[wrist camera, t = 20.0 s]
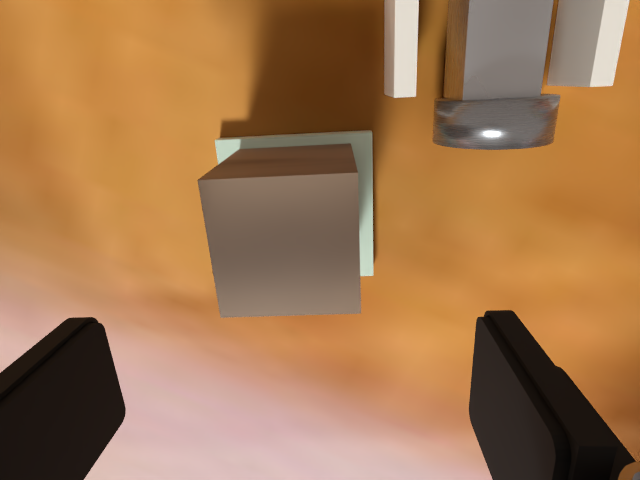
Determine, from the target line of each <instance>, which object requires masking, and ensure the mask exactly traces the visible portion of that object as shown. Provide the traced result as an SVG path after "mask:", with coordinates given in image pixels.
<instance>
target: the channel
mask: <svg viewBox="0 0 640 480" xmlns="http://www.w3.org/2000/svg"><path fill="white" fill-rule="evenodd" d="M628 5H629V0H559V2H558V9H557V16H556V23H555V30H554V37H553V45H552V52H551V59H550V66H549V73H548V80H547V85H550V86H577V87H598V86H613V81H614V76H615V71H616V66H617V61H618V56H619V51H620V46H621V41H622V36H623V30H624V25H625V20H626V15H627V10H628ZM418 12H419V0H384V95H387V96H390V97H393V98H399V97H416V77H417V44H418Z"/></svg>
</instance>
